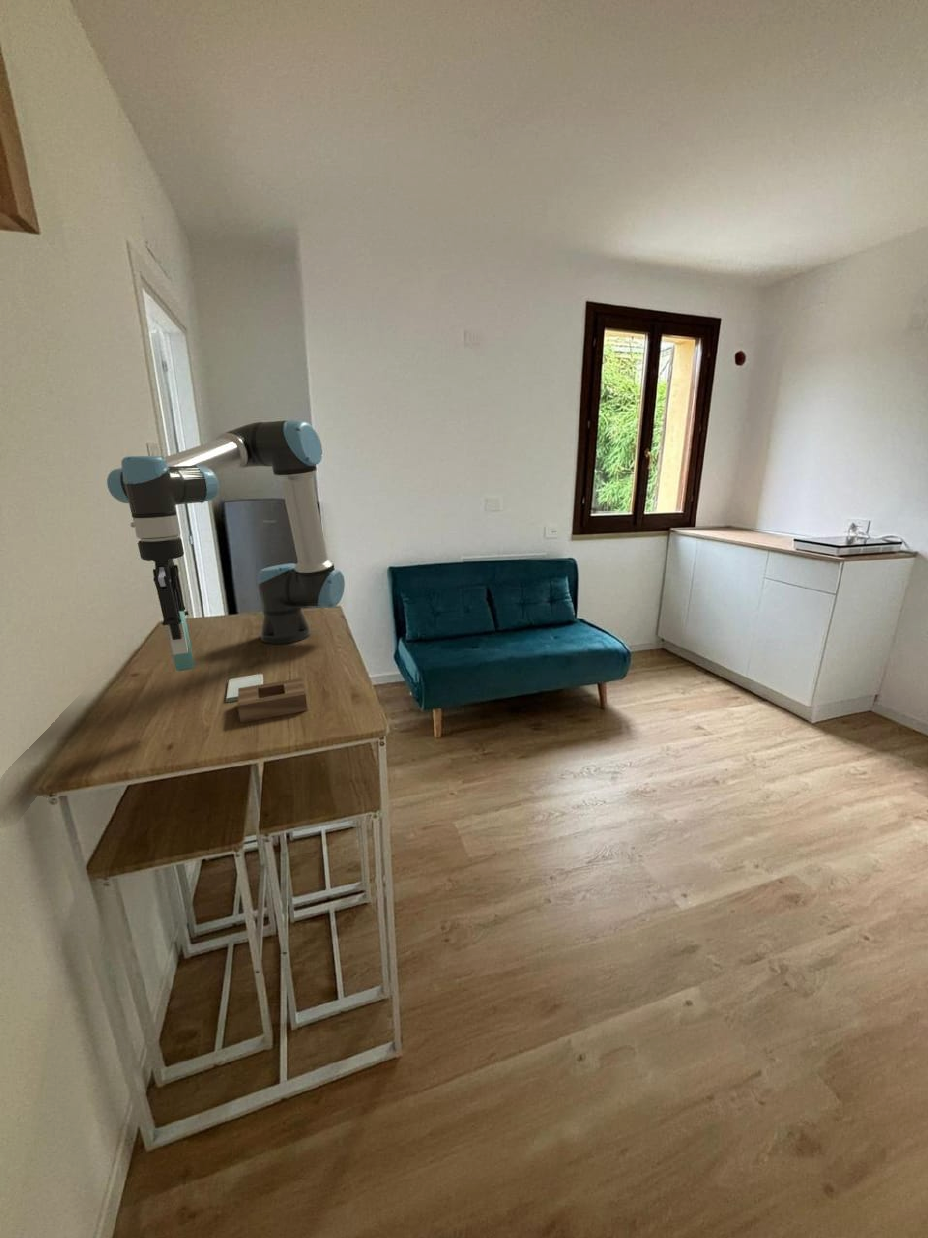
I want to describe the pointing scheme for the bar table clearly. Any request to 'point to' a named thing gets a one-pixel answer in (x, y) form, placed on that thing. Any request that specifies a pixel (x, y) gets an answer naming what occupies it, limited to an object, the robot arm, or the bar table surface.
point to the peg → (184, 659)
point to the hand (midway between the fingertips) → (182, 649)
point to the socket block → (271, 700)
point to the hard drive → (241, 685)
